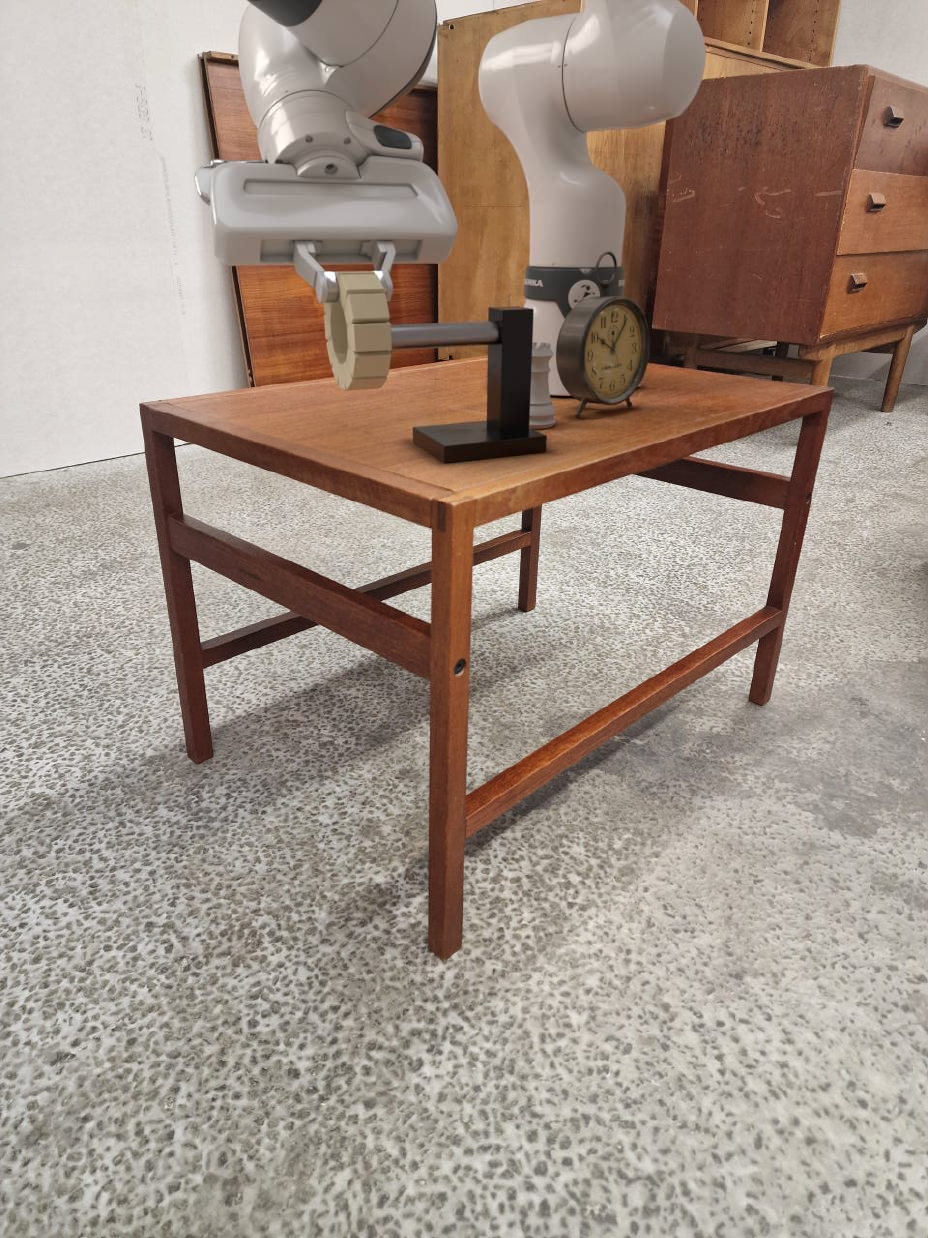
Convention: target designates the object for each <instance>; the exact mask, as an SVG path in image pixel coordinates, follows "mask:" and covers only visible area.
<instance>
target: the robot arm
mask: <svg viewBox="0 0 928 1238" xmlns="http://www.w3.org/2000/svg"><path fill="white" fill-rule="evenodd" d="M246 1H247V2H248V3H249V4H248V5H247V7H246V8H245V10H244V12H243V14H242V17H241V20H240V25H239V29H238V37H237V38H238V39H237V41H238V43H237V57H238V69H239V75H240V80H241V85H242V90H243V93H244V94H243V95H244V97H245V98H244V99H245V102H246V106H247V109H248V112H249V116H250V118H251V119H252V121H253V124H254V125H255V127H256V128H257V132H256V133H257V134H256V136H257V144H258V149H259V152H260V156H261V159H240V160H239V159H237V160H230V159H229V160H228V159H227V158H214V159H210V161H209V162H210V163H207V164H203V165H200V167H197V168H196V170H195V173H194V183H195V186H196V191H197V194H198V196H199V198H200V199H201V201H202V202H203V203H204V204H205V205H206V206H209V228H210V236H211V239H210V240H211V245H212V250H213V254H214V256H215V257H216V258H217V259H218V260H219V261H221V262H222V263H223V264H225V265H226V266H230V267H250V266H251V267H252V266H254V267H256V266H258V267H259V266H294V269H295V272H296V274H297V275H298V276H299V277H301V278H302V279H303V280H304V281H305V283H307V284H308V285H309V286H310V287H312V288H313V289H314V290H315V294H316V298H317V301H318V303H319V304H324V303H336V302H338V296H339V292H340V289H339V284H338V282H337V277H336V273H335V272H336V271H333V270H332V271H329V270H327V271H326V270H325V269H324V268H323V266H334V265H335V266H336V265H337V266H339V265H342V266H343V265H372V266H373V268H374V270H371V271H370V272H375V274H377V276H378V278H379V280H380V282H381V284H382V286H383V288H384V292H383V294H385V295H386V300H387V302H391V299H392V296H393V293H394V285H393V281H392V278H391V272H392V269H393V265H423V264H424V265H425V264H427V265H428V264H431V265H433V264H435V265H436V264H438V265H439V264H443V263H445V262H446V261H447V260H448V258H449V256H450V255H451V253H452V251H453V250H454V249H453V248H454V246H455V243H456V240H457V236H458V231H459V225H458V219H457V217H456V214H455V211H454V209H453V206H452V203H451V201H450V198H449V197H448V194H447V192H446V189H445V187H444V186H443V183H442V181H441V180H440V178H439V176H438V175H437V174H436V172H435V171H434V170H433V169H432V168H431V167H430V166H429V165H427V164H425V163H424V162H423V160H424V151H425V149H424V145H423V141H422V140H421V139H420V137H419V136H417V135H415V134H414V133H411V132H408V131H405V130H401V129H398V128H395V127H391V126H388V125H386V124H383V123H380V122H378V121H375V120H373V118H375V117H376V116H379V115H380V114H381V113H383V112H385V111H386V110H388V109H390V108H391V107H393V106H395V105H396V104H398V103H399V102H401V101H402V100H403V99H404V98H406V96H407V95H409V94H410V92H411V91H413V90H414V88H415V87H416V86H417V85H418V84H419V83H420V81H422V79H423V77H424V76H425V74H426V72H427V69H428V68H429V65H430V63H431V59H432V57H433V53H434V50H435V45H436V40H437V34H438V9H437V2H436V0H246ZM584 3H585V4H584V8H583V10H582V11H579V12H573V13H566V14H559V15H553V16H546V17H539V18H533V19H528V20H525V21H524V22H521V23H519V24H515V25H514V26H511V27H509V28H507V29H505V30H503V31H501V32H499V33H496V34H495V35H494V36H492V37H491V38H490V40H489V41H488V42H487V44H486V46H485V48H484V51H483V53H482V55H481V59H480V63H479V69H478V77H477V84H478V86H477V87H478V93H479V97H480V102H481V105H482V108H483V110H484V113H485V114H486V116H487V118H488V119H489V121H490V122H491V123H492V125H494V127H496V128H497V129H498V130H499V132H501V133H502V134H503V136H504V137H505V138H506V139H507V140H508V142H509V143H510V145H511V146H512V148H513V151H514V152H515V154H516V156H517V159H518V161H519V163H520V165H521V169H522V171H523V175H524V178H525V183H526V188H527V194H528V195H527V196H528V204H529V205H528V207H529V212H528V213H529V255H528V256H529V257H528V260H529V261H528V265H527V266H526V267H525V273H524V277H523V294H522V295H523V297H524V298H525V300H524V302H523V306H522V307H525V308H531V309H534V315H533V341H532V342H537V346H539V345H540V343H541V342H545V343H550V344H551V345H550V349H551V350H552V352H553V353H554V355H553V356H552V358H551V359H550V360H549V368H550V369H551V370H550V372H549V376H548V382H549V393H550V396H562V397H563V396H565V397H566V396H567V397H570V396H571V395H570V394H569V393H568V392H567V390H566V389H565V388H564V386H563V384H562V382H561V380H560V377H559V374H558V370H557V365H556V345H557V340H558V335H559V332H560V329H561V326H562V324H563V322H564V320H565V318H566V317H567V315H568V314H569V312H570V311H571V310H572V309H573V308H574V307H575V306H576V305H577V304H578V303H579V302H581V301H583V300H584V299H587V298H590V297H596V296H600V293H601V286H600V284H599V283H598V281H597V279H596V276H595V267H596V263H597V260H598V258H599V257H600V255H601V254H602V253H603V252H605V251H611V252H612V253H613V254H614V255H615V257H616V261H617V271H616V275H615V278H614V280H613V281H612V282H611V283H610V285H609V287H608V289H609V296H624V290H625V289H624V288H625V286H626V278H625V274H626V273H625V271H626V270H625V269H626V268H624V267H623V266H622V264H623V253H624V252H623V251H624V241H625V240H624V239H625V229H626V228H625V227H626V215H627V199H626V195H625V193H624V190H623V188H622V186H621V185H620V183H619V182H618V181H617V180H616V179H615V178H614V177H612V176H611V175H610V174H608V173H607V172H605V171H603V170H602V169H600V168H599V167H597V166H595V165H594V163H593V162H592V159H591V158H590V153H589V150H588V141H587V140H588V139H587V138H588V137H587V136H588V133H589V132H603V131H619V130H635V129H636V130H637V129H642V128H646V127H649V126H652V125H653V126H654V125H656V124H660V123H662V122H666V121H669V120H672V119H675V118H677V117H680V116H681V115H682V114H684V113H685V112H686V111H687V109H689V106H690V105H691V103H692V102H693V100H694V99H695V97H696V95H697V94H698V91H699V89H700V86H701V84H702V82H703V78H704V74H705V73H704V72H705V68H706V59H707V58H706V55H707V54H706V43H705V38H704V34H703V31H702V28H701V26H700V23H699V22H698V20H697V18H696V16H695V15H694V14H693V12H692V11H691V10H690V9H689V8H688V7H687V6H686V5H685V4H683V3H682V2H681V1H680V0H585V1H584ZM613 272H614V262H613V258H612V257H611V256H610V255H609V254H606V255H605V256H603V257H602V259H601V261H600V263H599V267H598V277H599V280H600V281H603V280H608V281H610V279H611V278H612V276H613ZM641 386H642V381H641V382H640V384H639V386H638V387H639V388H640V387H641ZM638 387H637V388H638ZM571 397H572V396H571Z"/></svg>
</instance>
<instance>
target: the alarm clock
mask: <svg viewBox="0 0 928 1238" xmlns="http://www.w3.org/2000/svg"><path fill="white" fill-rule="evenodd" d="M606 254H609V255H610V256H611V257H612V258H613V262H614V272H613V276H612V278H611V279H610V281H608V280H603V281H600V280H599V277H598V267H599V263H600V261H601V259H602V257H603V256H605V255H606ZM616 271H617V261H616V257H615V255H614V254H613V253H612V252H611V251H605V252H603V253H602V254H601V255H600V257H599V258H598V260H597V263H596V267H595V276H596V279H597V281H598V283H599V284H600V286H601V293H600V296H596V297H590V298H587V299H584V300H583V301H581V302H579V303H578V304H577V305H576V306H575V307H574V308H573V309H572V310H571V311H570V312H569V314H568V315H567V317H566V318H565V320H564V322H563V324H562V326H561V329H560V332H559V335H558V340H557V345H556V365H557V370H558V374H559V377H560V380H561V382H562V384H563V386H564V388H565V389H566V390H567V392H568V393H569V394H570V395H571V397H572V398H573V399H575V400H576V401H578V402H579V404H578V407H577V411H576V412H575V413H574V418H575V419H580V418H581V416H582V414H581V413H583V411H584V410H585V408H586V406H587V404H588V403H589V404H595V405H604V406H609V407H610V406H616V405H620V404H621V403H622V404H623V402H625V403H626V406H627V407H628V408H632V407H633V402H632V401H631V399H630V398H631V396H633V394H634V392H636V390H637V389H638V386H639V384H640V382H641V383H642V380H643V379H644V377H645V373H646V371H647V367H648V365H649V364H648V363H649V359H650V351H651V336H650V329H649V324H648V321H647V318H646V316H645V313H644V312H643V310H642V308H641V307H640V305H639V304H638V303H637V302H636V301H634V300H633V299H631V298H630V297H628V296H624V295H623V296H609V289H608V287H609V285H610V283H611V282H612V281H613V280H614V278H615V275H616ZM639 387H640V386H639Z"/></svg>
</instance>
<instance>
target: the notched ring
mask: <svg viewBox="0 0 928 1238" xmlns="http://www.w3.org/2000/svg"><path fill="white" fill-rule="evenodd" d="M334 272H335V273H336V277H337V282H338V284H339V289H340V292H339V296H338V302H336V303H323V311H324V313H325V314H323V320H324V323H323V324H324V337H325V340H327V341H326V345H325V346H326V350H327V355H328V359H329V365H330V366H331V372H332V374H333V376H334V379H335V381H336V383H337V385H338V387H339V388H340V389H342V390H343V391H346V392H348V391H364V390H377V389H382V388H383V386H384V384H386V381H387V380H388V376H389V373H390V366H391V360H392V353H390V351H389V350H392V343H391V325H392V324H391V323H390V322H389V323H388V321H389V320H390V317H391V315H390V310H389V305H388V301H387V300H386V295H385V294H383V292H384V288H383V286H382V284H381V282H380V280H379V278H378V276H377V274H375V272H371V271H370V270H352V271H351V270H348V271H345V270H343V271H342V270H341V271H337V270H336V271H334ZM392 351H393V350H392Z"/></svg>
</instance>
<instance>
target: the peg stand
mask: <svg viewBox="0 0 928 1238" xmlns="http://www.w3.org/2000/svg"><path fill="white" fill-rule="evenodd" d="M487 311H488V313H487V315H488V319H487V320H482V321H481V320H480V321H479V320H478V321H455V322H435V323H434V322H433V323H432V322H431V323H409V324H391V343H392V350H389V351H390V353H391V354H392V352H393V351H409V350H425V349H427V350H428V349H445V348H446V349H447V348H463V347H465V348H466V347H481V346H482V347H484V346H487V371H486V372H487V375H486V376H487V380H486V381H487V382H486V383H487V384H486V385H487V386H486V420H475V421H465V422H453V423H442V424H431V425H421V426H419V425H418V426H413V427H412V443H413V444H414V445H416V446H418V447H419V448H420V449H422V450H424V451H425V452H427V453H428V454H429V455H431V456H433V457H435V458H436V459H438V460H440V461H441V462H443V463H444V464H449V463H457V462H466V461H476V460H485V459H494V458H503V457H513V456H522V455H530V454H531V455H532V454H540V453H546V452H547V443H548V442H547V441H548V435H546V434H544V433H541V432H539V431H537V430H536V429H530V428H529V420H530V394H531V367H532V341H533V315H534V309H531V308H525V307H523V306H519V305H515V306H513V305H512V306H489V307H488V309H487ZM388 323H390V321H389V320H388Z"/></svg>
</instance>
